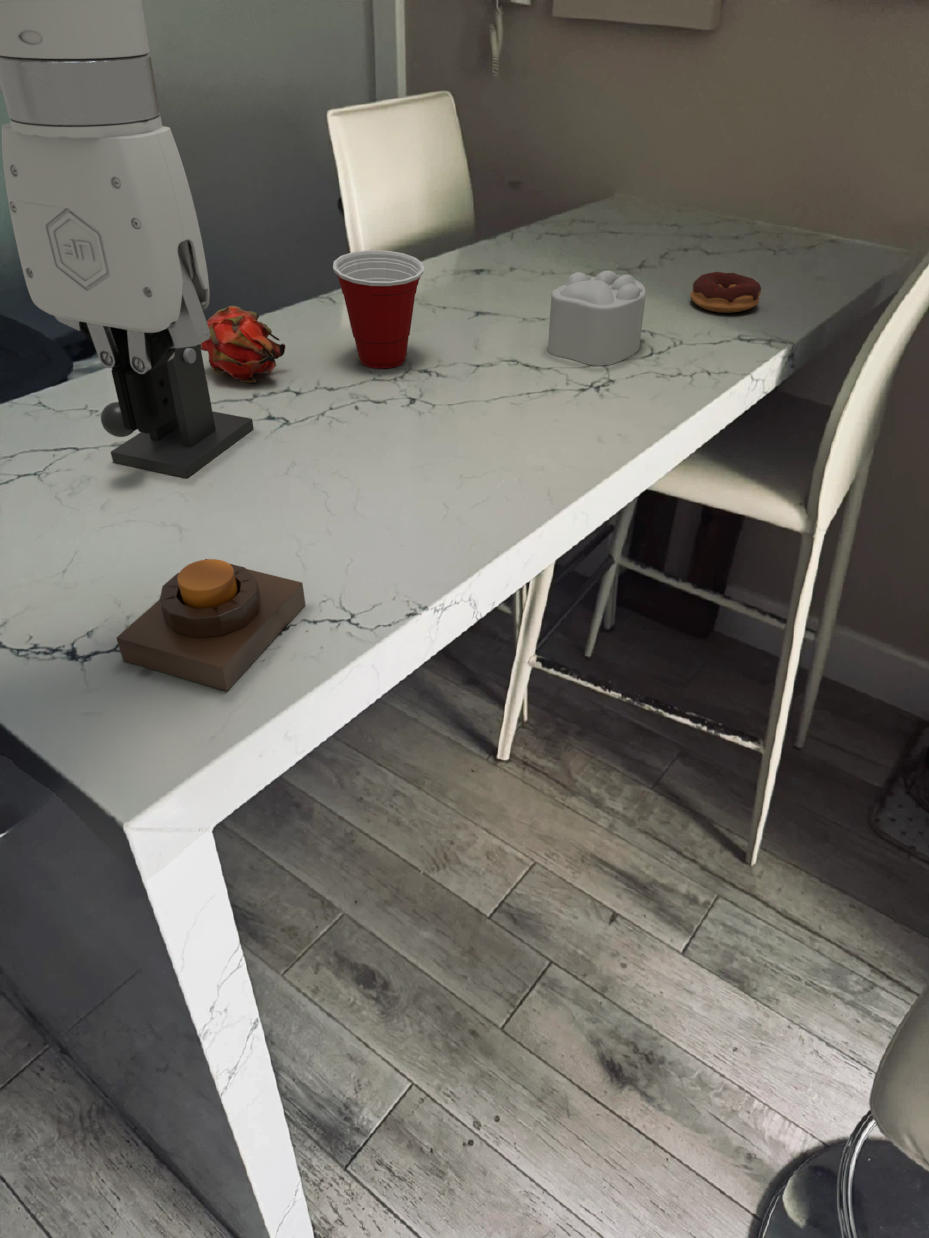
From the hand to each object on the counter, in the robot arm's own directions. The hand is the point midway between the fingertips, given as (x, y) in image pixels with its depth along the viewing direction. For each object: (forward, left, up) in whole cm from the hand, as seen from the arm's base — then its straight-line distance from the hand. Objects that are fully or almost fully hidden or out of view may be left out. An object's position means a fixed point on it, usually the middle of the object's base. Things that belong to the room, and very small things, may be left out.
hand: (151, 423), depth 57 cm
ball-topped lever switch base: (+15, +29, -17) cm, 36 cm away
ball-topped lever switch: (+12, +27, -10) cm, 31 cm away
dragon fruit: (+30, +41, -17) cm, 53 cm away
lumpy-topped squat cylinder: (+69, +18, -17) cm, 73 cm away
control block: (+1, -1, -17) cm, 17 cm away
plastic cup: (+45, +33, -17) cm, 58 cm away
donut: (+95, +16, -17) cm, 98 cm away
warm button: (+1, -1, -13) cm, 13 cm away
